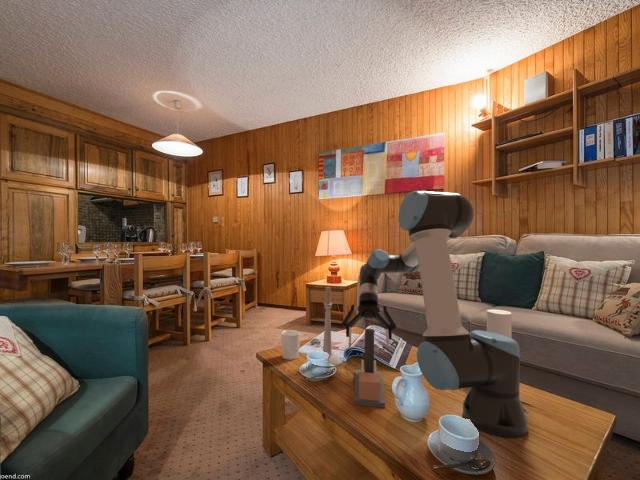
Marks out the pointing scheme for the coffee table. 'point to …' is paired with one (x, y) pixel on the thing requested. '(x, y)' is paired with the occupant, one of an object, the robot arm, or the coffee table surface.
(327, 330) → the candlestick
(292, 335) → the white cup
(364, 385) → the tube stand
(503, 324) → the cylindrical container
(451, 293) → the robot arm
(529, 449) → the coffee table surface
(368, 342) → the tube
